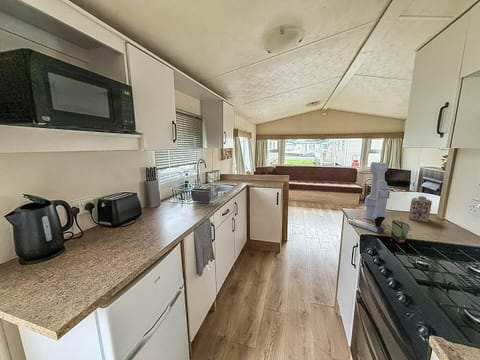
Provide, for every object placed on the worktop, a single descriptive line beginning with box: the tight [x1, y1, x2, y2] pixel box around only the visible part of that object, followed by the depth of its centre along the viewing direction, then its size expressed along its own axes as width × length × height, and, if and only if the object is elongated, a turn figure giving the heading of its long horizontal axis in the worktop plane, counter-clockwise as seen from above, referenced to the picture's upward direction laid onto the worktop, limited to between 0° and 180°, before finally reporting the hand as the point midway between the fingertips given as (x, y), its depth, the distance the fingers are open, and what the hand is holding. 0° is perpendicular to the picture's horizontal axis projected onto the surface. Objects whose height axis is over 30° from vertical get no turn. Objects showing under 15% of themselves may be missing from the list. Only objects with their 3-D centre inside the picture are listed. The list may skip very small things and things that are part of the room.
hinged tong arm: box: [349, 217, 385, 234], centre depth 141 cm, size 22×2×3 cm, turn 34°
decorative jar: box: [408, 195, 433, 223], centre depth 159 cm, size 12×12×18 cm
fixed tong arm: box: [346, 218, 383, 235], centre depth 139 cm, size 2×22×3 cm, turn 32°
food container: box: [390, 219, 411, 244], centre depth 122 cm, size 12×6×10 cm, turn 168°
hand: (377, 226), depth 138 cm, fingers closed
